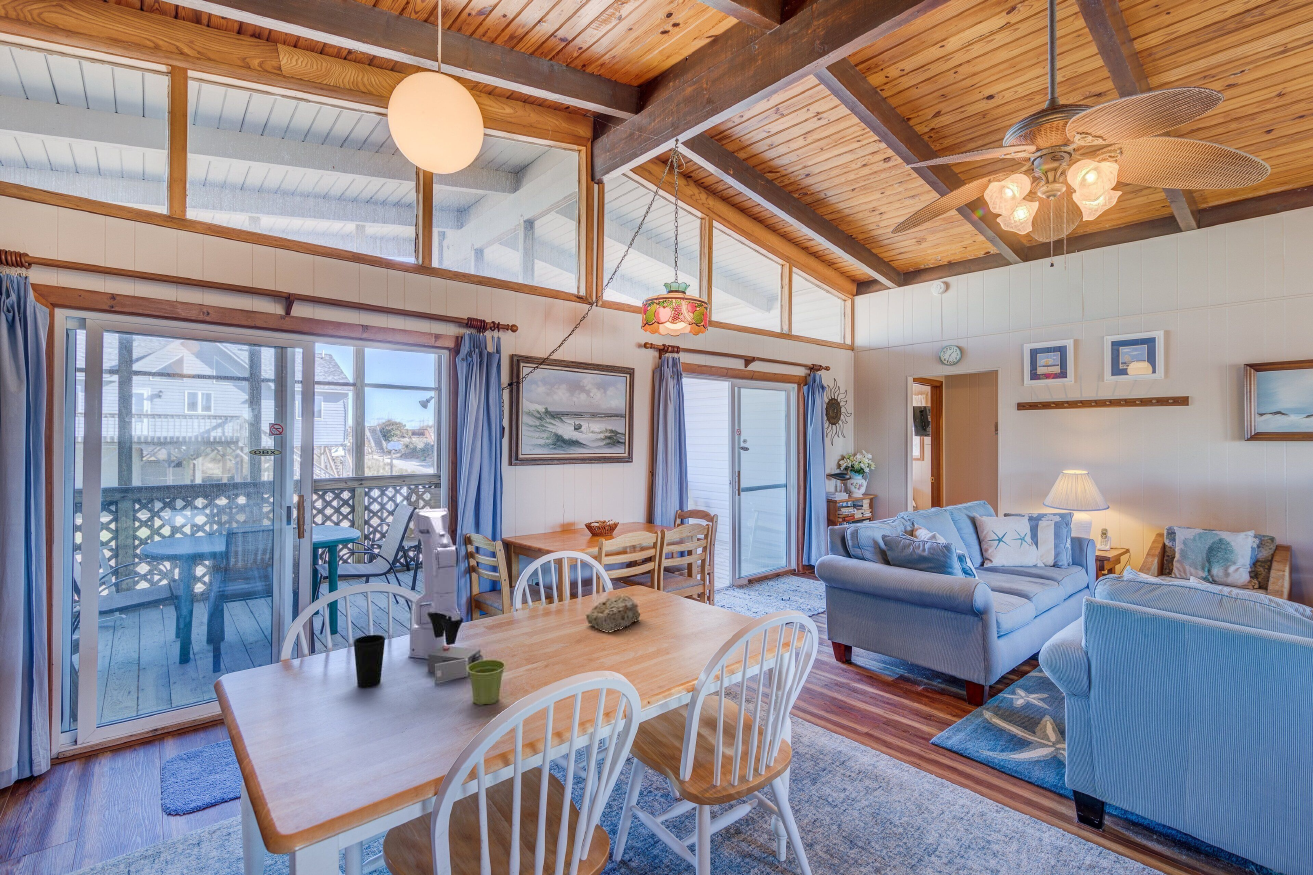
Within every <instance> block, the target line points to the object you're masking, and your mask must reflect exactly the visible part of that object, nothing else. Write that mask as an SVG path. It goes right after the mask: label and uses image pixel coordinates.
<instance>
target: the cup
mask: <svg viewBox="0 0 1313 875" xmlns="http://www.w3.org/2000/svg"><path fill="white" fill-rule="evenodd" d="M385 641H386V637H385V636H384V635H381V634H368V635H367V634H366V635H363V636H359V637H357V638H355V639H354V640H353V650H354V659H355V661H354V662H355V671H356V672H355V673H356V674H355V675H356V681H357V682H356V683H357V688H359V689H371V688H375V687H378V686H379V685H380V684H381V682H382V681H381V680H382V671H383V670H382V669H383V662H384V654H385V653H384V652H385V643H386V642H385Z"/></svg>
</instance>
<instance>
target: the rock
mask: <svg viewBox="0 0 1313 875" xmlns="http://www.w3.org/2000/svg"><path fill="white" fill-rule="evenodd" d="M638 607H639V605H638V603H637V602H636V601H635V600H634V599H632V598H631V597H630V596H628V595H622V594H619V595H616V596H614V597H611V598H609V597H608V598H607V599H606V600H605V601H601V602H598V604H596V605H594V606H592V607H591V609H590V611H589V612H588V613H585V616H586V619H585V620H586V621H587V624H588V625H589V624H590V625H592V626H593V627H594V628H595V629H597V628H598V629H597V630H599V629H601V630H605V631H612V630H615V629H618V628H622V627H624V628H625V626H627V627H629V626H630V624H631V623H632V622H633V623H634V622H638V621H639V620H638V619H640V617H641V613H640V612H639V608H638ZM635 620H636V621H635ZM637 620H638V621H637ZM633 623H632V624H633ZM632 624H631V625H632ZM628 625H629V626H628Z"/></svg>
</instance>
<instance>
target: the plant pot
mask: <svg viewBox="0 0 1313 875" xmlns="http://www.w3.org/2000/svg"><path fill="white" fill-rule="evenodd" d="M505 669H506V663H505V662H504V661H503V660H498V659H483V660H482V661H477V662H474V663H472V664H470V665H469V666H468V667H467V671H468V672H469V675H468V677H470V682H471V683H470V684H471V690H472V697H473V702H474V703H475V704H476V705H479V706H483V705H485V704H486V705H492V704H494V703H497V701H499V698H500V691H501V685H502V679H503V678H502V677H503V674H504V671H505Z"/></svg>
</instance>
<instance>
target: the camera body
mask: <svg viewBox="0 0 1313 875" xmlns="http://www.w3.org/2000/svg"><path fill="white" fill-rule="evenodd" d="M481 651H482V650H481V649H480V648H472V647H470V648H469V647H461V646H460V647H459V646H451V645H444V646H442V647H440V648H438V649H437V650H435V651H433V652H432V653H430V654H428V659H427V673H430V674H431V673H433V674H435V664H439V663H445V662H450V661H456V660H462V659H468V666H469V665H470V664H472V663H474V662H477V661H482V660H484V658H483V655H482V654H481ZM468 676H469V672H468Z"/></svg>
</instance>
